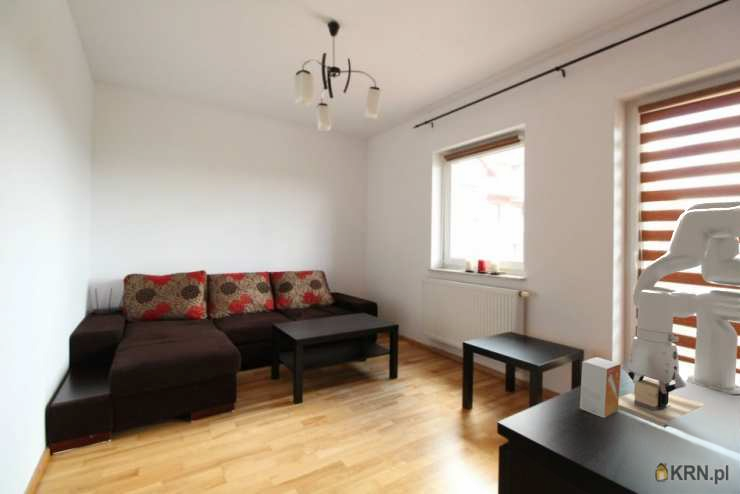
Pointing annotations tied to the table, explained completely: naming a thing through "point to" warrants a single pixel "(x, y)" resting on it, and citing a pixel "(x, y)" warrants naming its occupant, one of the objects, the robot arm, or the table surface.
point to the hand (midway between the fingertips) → (650, 401)
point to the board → (665, 414)
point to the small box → (600, 386)
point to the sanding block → (647, 394)
